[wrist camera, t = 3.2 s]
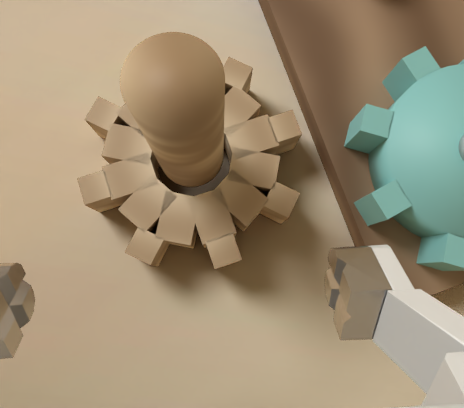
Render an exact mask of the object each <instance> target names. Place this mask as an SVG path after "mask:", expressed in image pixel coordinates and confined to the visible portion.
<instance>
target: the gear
mask: <svg viewBox="0 0 464 408" xmlns="http://www.w3.org/2000/svg"><path fill="white" fill-rule="evenodd" d="M382 83H383V85H384V86H385V88H386V89H387V91H388V92H389V94H390V95H391V97H392V99H393V100H394V103H393V104H392V105H391V106H390V107H389V108H388V110H387V109H384V108H380V107H376V106H373V105H369V104H366V105H365V106H364V107H363V108H362V109H361V111H360V112H359V113H358V114H357V115H356V116H355V118H354V119H353V120H352V121H351V122H350V124H349V128H348V132H347V136H346V140H345V145H344V147H347V148H350V149H354V150H357V151H361V152H364V153H368V154H369V159H368V162H369V171H370V176H371V180H372V184H373V186H374V189H375V191H373V192H372V193H370V194H368V195H366V196H365V197H363V198H361V199H359V200H357V201H356V202H354V204H355V206H356V208H357V209H358V211H359V213H360V214H361V216H362V218H363V219H364V221H365V222H366V224H367V226H369V225H372V224H375V223H379V222H382V221H385V220H388V219H390V218H391V217H393V218H394V219H395V220H396V221H397V222H398V223H399V224H401V225H402V226H403V227H404V228H406V229H407V230H409V231H410V232H412V233H413V234H415V235H417V236H419V237H421V242H420V247H419V252H418V257H417V262H416V263H417V264H420V265H424V266H427V267H431V268H434V269H438V270H441V271H464V59H463V60H462V61H461V62H460V63H459V64H458V65H452V66H447V67H444V68H440V67H439V65H438V64H437V62H436V61H435V59H434V58H433V56H432V55H431V53H430V52H429V51H428V49H427V48H426V46H424V47H423V48H421V49H419V50H417V51H415V52H413V53H411V54H409V55H407V56H405V57H404V58H402V59H401V60H400V61H399V62H398V64H397V65H396V66H395V67H394V68H393V70H392V71H391V72H390V73H389V74H388V75H387V77H386V78H385V79H384V80H383V81H382Z"/></svg>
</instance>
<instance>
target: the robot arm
mask: <svg viewBox="0 0 464 408" xmlns="http://www.w3.org/2000/svg"><path fill="white" fill-rule="evenodd" d="M328 261H329V264H330V268H329V269H328V270H327V271H326V274H325V292H326V298H327V301H328V304H329V306H330V307H331V308H333V309H334V310H335V312H334V317H333V320H334V323H335V326H336V329H337V332H338V335H339V339H340V340H366V339H373V342H374V343H375V344H376V345H377V346H378V347H379V348H380V349H381V350H382V351H383V352H384V353H385V354H386V355H387V356H388V357H389V358H390V359H391V360H392V361H393V362H394V363H395V364H396V365H398V366H399V367H400V368H401V369H402V370H403V371H404V372H405V373H406V374H407V375H408V376H409V377H410V378H411V379H412V380H413V381H414V382H415V383H416V384H417V385H418V386H419V387H420V388H421V389H422V390H423V391H424V392H425V393H426V396H425V398H424V401H423V403H422V405H421V406H408V407H391V408H464V317H463V316H462V315H460V314H459V313H457V312H456V311H454V310H452V309H451V308H449V307H448V306H446V305H445V304H443V303H442V302H440V301H438V300H437V299H435V298H434V297H432V296H431V295H429V294H428V293H426V292H424V291H423V290H421V289H414V287H413V285H412V283H411V282H410V280H409V278H408V276H407V275H406V273H405V271H404V270H403V268H402V266H401V264H400V263H399V261H398V259H397V257H396V256H395V254H394V252H393V251H392V249H391V247H390V246H388V245H372V246H359V247H340V248H331V249H330V251H329V256H328ZM25 274H26V273H25V271H24V269H23V267H22V265H21V264H18V263H0V359H5V358H13V357H14V354H15V352H16V350H17V348H18V346H19V343H20V341H21V339H22V337H23V334H22V331H21V329H20V328H21V327H23V326H24V325H25V324H26V323H28V322H29V321H30V319H31V317H32V314H33V312H34V305H35V297H34V291H33V289H32V287H31V285H29V284H28V283H27V282H25V281H24V280H23V278H24V276H25Z"/></svg>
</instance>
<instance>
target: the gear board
mask: <svg viewBox="0 0 464 408" xmlns="http://www.w3.org/2000/svg"><path fill="white" fill-rule="evenodd" d="M258 1H259V3H260V6H261V8H262V11H263V13H264V16H265V18H266V21H267V24H268V26H269V29H270V31H271V34H272V36H273V39H274V41H275V44H276V46H277V49H278V52H279V54H280V57H281V59H282V62H283V64H284V67H285V69H286V72H287V74H288V77H289V80H290V82H291V85H292V87H293V90H294V92H295V95H296V97H297V100H298V102H299V105H300V108H301V110H302V113H303V115H304V118H305V120H306V123H307V125H308V128H309V130H310V133H311V136H312V138H313V141H314V143H315V146H316V148H317V151H318V153H319V156H320V158H321V161H322V164H323V166H324V169H325V171H326V174H327V176H328V179H329V181H330V184H331V186H332V189H333V192H334V194H335V197H336V199H337V202H338V204H339V207H340V209H341V212H342V214H343V217H344V220H345V222H346V225H347V227H348V230H349V232H350V235H351V237H352V240H353V242H354V245H355V247H359V246H372V245H388V246H390V247H391V249H392V251H393V252H394V254H395V256H396V257H397V259H398V261H399V263H400V264H401V266H402V268H403V270H404V271H405V273H406V275H407V276H408V278H409V280H410V282H411V283H412V285H413V287H414V289H421V290H423V291H424V292H426V293H428V294H429V295H433V294H436V293H439V292H442V291H444V290H447V289H450V288H452V287H455V286H458V285H460V284H463V283H464V271H441V270H438V269H434V268H431V267H427V266H424V265H420V264H417V263H416V262H417V257H418V252H419V247H420V242H421V237H419V236H417V235H415V234H413V233H412V232H410V231H409V230H407V229H406V228H404V227H403V226H402V225H401V224H399V223H398V222H397V221H396V220H395V219H394V218H393V217H391V218H390V219H388V220H385V221H382V222H379V223H375V224H372V225H369V226H367V224H366V222H365V221H364V219H363V218H362V216H361V214H360V213H359V211H358V209H357V208H356V206H355V204H354V202H356V201H357V200H359V199H361V198H363V197H365V196H366V195H368V194H370V193H372V192H373V191H375V189H374V186H373V184H372V180H371V176H370V171H369V162H368V159H369V154H368V153H364V152H361V151H357V150H354V149H350V148H347V147H344V145H345V140H346V136H347V132H348V128H349V124H350V122H351V121H352V120H353V119H354V118H355V116H356V115H357V114H358V113H359V112H360V111H361V109H362V108H363V107H364V106H365V105H366V104H369V105H373V106H376V107H380V108H384V109H387V110H388V108H389V107H390V106H391V105H392V104H393V103H394V100H393V99H392V97H391V95H390V94H389V92H388V91H387V89H386V88H385V86H384V85H383V83H382V81H383V80H384V79H385V78H386V77H387V75H388V74H389V73H390V72H391V71H392V70H393V68H394V67H395V66H396V65H397V64H398V62H399V61H400V60H401V59H402V58H404V57H405V56H407V55H409V54H411V53H413V52H415V51H417V50H419V49H421V48H423V47H424V46H426V48H427V49H428V51H429V52H430V53H431V55H432V56H433V58H434V59H435V61H436V62H437V64H438V65H439V67H440V68H444V67H447V66H452V65H458V64H459V63H460V62H461V61H462V60H463V59H464V0H258Z"/></svg>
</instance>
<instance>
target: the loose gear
mask: <svg viewBox="0 0 464 408" xmlns="http://www.w3.org/2000/svg"><path fill="white" fill-rule="evenodd" d="M252 70H253V68H252V67H250V66H248V65H245V64H243V63H241V62H239V61H237V60H235V59H233V58H230V57H228V59H227V61H226V63H225V65H224V67H223V65H222V63H221V60H220V58H219V57H218V55H217V53H216V52H215V51H214V50H213V49H212V48H211V47H210V46H209V45H208V44H207V43H205V42H204V41H203V40H201V39H199V38H197V37H195V36H192V35H189V34H185V33H179V32H167V33H161V34H157V35H154V36H151V37H149V38H147V39H145V40H144V41H142V42H141V43H139V44H138V45H137V46H136V47H135V48H134V49H133V50H132V51H131V52H130V53H129V55H128V56H127V58H126V60H125V62H124V64H123V67H122V70H121V75H120V89H121V93H122V96H123V99H124V101H125V104H124V105H123V106H122V107H120V106H117V105H115V104H113V103H111V102H109V101H107V100H105V99H103V98H101V97H99V96H98V98H97V99H96V101H95V103H94V104H93V106H92V108H91V109H90V111H89V113H88V115H87V116H86V118H85V120H86V122H87V123H88V124H89V125H90V126H91V127H92V128H93V130H94V131H95V132H96V133H97V134H98V135H99V136H100V137H102V138H104V139H106V140H105V144H104V148H103V152H102V157H103V158H104V159H105V160H106V161H107V162H108V163H109V165H106V166H103V167H102V171H99V172H95V173H92V174H89V175H86V176H83V177H80V178H77V180H78V184H79V187H80V190H81V194H82V197H83V201H84V204H85V205H86V206H88V207H90V208H92V209H94V210H96V211H98V212H103V211H106V210H109V209H112V208H115V207H118V206H121V207H120V208H119V209H118V210H119V211H120V212H121V213H122V214H123V215H124V216H126V217H127V218H128V219H129V220H130V221H131V222H132V223H133V224H134V225H136V226H137V227H138V228H137V230H136V232H135V233H134V235H133V237H132V239H131V241H130V243H129V245H128V247H127V248H126V250H125V253H127V254H129V255H131V256H133V257H135V258H137V259H139V260H141V261H143V262H145V263H147V264H149V265H152V266H159V264H160V262H161V260H162V258H163V256H164V254H165V252H166V250H167V248H168V247H169V245H170V244H173V245H178V246H183V247H188V248H193V249H194V245H195V241H196V236H197V231H198V233H199V236H200V239H201V242H202V245H203V246H204V248H206V247H207V248H208V251H209V254H210V257H211V260H212V263H213V266H214V269H218V268H221V267H224V266H227V265H230V264H233V263H236V262H238V261H241V260H242V258H241V255H240V252H239V249H238V246H237V243H236V241H235V236H236V234H237V232H236V229H235V226H234V224H235V225H237V226H238V227H239V228H240V229H241V230H242V231H243V232H244V230H245V229H246V228H247V227H248V226H249V225H250V224H251V222H252V221H253V220H254V219H255V218H256V217H257V215H258V214H261V215H263V216H265V217H267V218H269V219H271V220H273V221H276V222H278V223H280V224H282V223H283V222H284V221H285V220H287V219H288V218H289V216H290V214H291V212H292V210H293V207H294V205H295V203H296V201H297V199H298V197H299V194H300V193H299V192H297V191H295V190H293V189H291V188H289V187H287V186H285V185H282V184H280V183H278V182H276V178H277V172H278V167H279V161H280V156H277V154H280V153H283V152H286V151H289V150H292V149H294V147H295V145H296V144H297V142H298V140H299V138H300V137H301V135H302V133H301V131H300V128H299V125H298V123H297V120H296V118H295V115H294V113H293V110H290V111H287V112H284V113H281V114H277V115H274V116H271V117H269V116H268V114H266V115H263V116H260V117H259V112H260V108H261V105H260V104H259V103H258V102H257V101H255V100H254V99H253V98H252V97H251V96H249V95H248V94H247V93H248V91H249V89H250V82H251V76H252ZM224 149H225V150H226V153H227V156H228V159H229V162H230V169H229V174H228V175H227V176H226V177H225V178H224V179H223V180H222V181H221V183H220V184H219V185H218V186H217V187H216V188H215V189H214V190H211V191H208V192H205V193H202V194H199V195H196V196H190V195H185V194H180V193H175V192H172V191H171V190H170V189H168V188H167V187H166V186H165V185H164V184H163V183H162V182H161V179H160V176H159V173H158V168H159V164H160V166H161V168H162V170H163V171H164V173H165V174H166V176H167V177H168V178H169V179H170V180H172V181H173V182H175V183H176V184H179V185H181V186H185V187H197V186H201V185H204V184H206V183H208V182H209V181H211V180H212V179H213V178H214V177H215V176H216V175H217V174H218V172H219V171H220V169H221V166H222V163H223V150H224ZM233 223H234V224H233Z"/></svg>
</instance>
